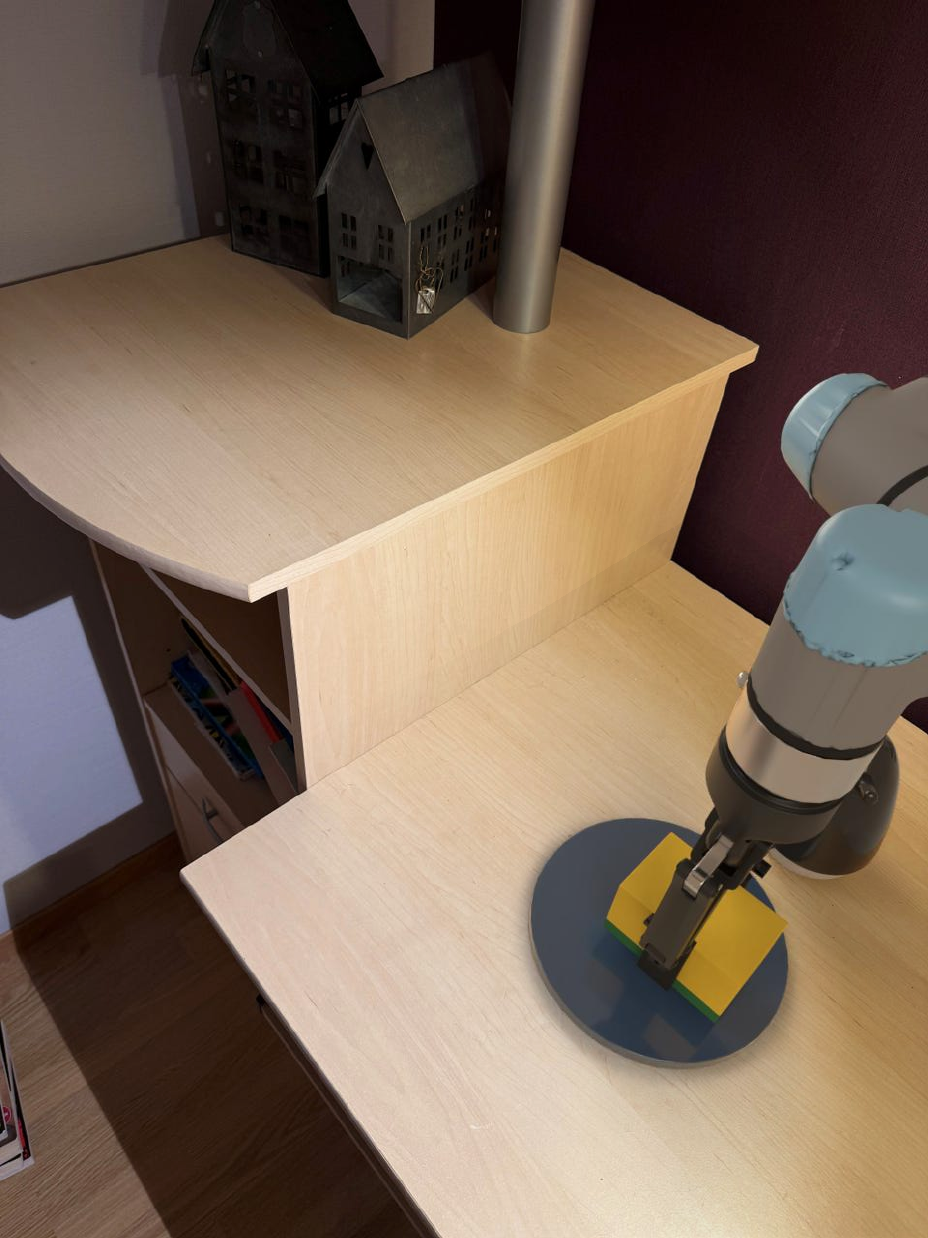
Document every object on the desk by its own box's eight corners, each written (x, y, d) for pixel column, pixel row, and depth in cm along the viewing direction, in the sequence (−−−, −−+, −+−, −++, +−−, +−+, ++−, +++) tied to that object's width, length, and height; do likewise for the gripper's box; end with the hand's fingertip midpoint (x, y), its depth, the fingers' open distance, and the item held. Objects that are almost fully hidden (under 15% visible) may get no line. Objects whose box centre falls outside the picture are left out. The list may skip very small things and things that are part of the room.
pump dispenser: (740, 882, 75) (804, 773, 65) (742, 783, 83) (800, 670, 72) (865, 915, 74) (951, 809, 64) (855, 811, 81) (932, 701, 71)
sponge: (761, 962, 67) (789, 922, 63) (714, 1024, 64) (740, 986, 59) (652, 873, 72) (671, 831, 68) (602, 926, 68) (619, 885, 64)
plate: (752, 832, 79) (756, 825, 78) (812, 1076, 64) (818, 1070, 64) (524, 818, 78) (526, 810, 77) (533, 1062, 63) (536, 1056, 63)
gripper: (811, 637, 59) (710, 833, 75) (634, 809, 48) (560, 995, 64) (920, 703, 55) (790, 894, 71) (756, 906, 44) (647, 1077, 60)
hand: (682, 942), depth 67 cm, fingers closed on sponge, 6 cm apart
